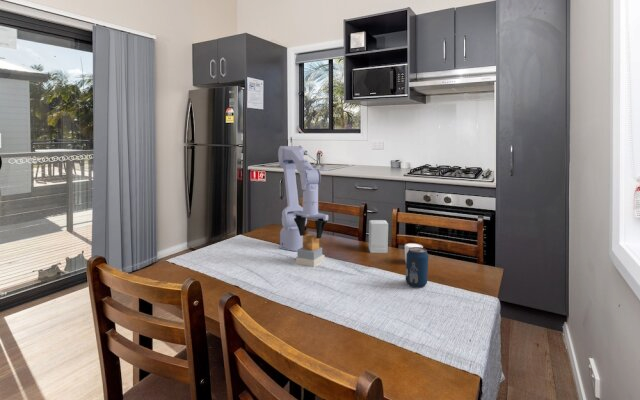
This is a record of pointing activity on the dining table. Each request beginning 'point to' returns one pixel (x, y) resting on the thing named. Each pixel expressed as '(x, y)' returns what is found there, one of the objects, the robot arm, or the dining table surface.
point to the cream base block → (310, 261)
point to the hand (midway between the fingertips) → (310, 236)
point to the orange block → (310, 242)
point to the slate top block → (309, 253)
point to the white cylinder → (410, 247)
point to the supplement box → (378, 236)
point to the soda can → (417, 267)
